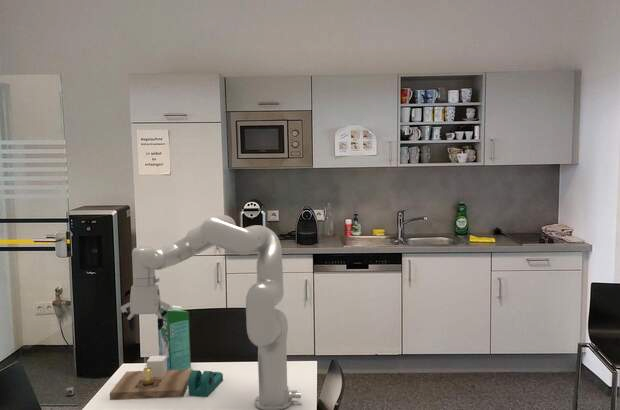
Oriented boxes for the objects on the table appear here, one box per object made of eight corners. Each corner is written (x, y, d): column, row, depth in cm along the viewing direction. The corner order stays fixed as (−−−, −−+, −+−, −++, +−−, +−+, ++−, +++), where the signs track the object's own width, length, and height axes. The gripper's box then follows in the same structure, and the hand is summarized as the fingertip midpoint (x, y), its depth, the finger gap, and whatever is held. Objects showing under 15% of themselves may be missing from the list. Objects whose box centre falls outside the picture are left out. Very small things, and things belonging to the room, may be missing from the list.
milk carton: (191, 367, 217) (188, 306, 216) (170, 373, 211) (167, 310, 210) (179, 362, 224) (177, 302, 222) (159, 368, 218) (157, 306, 216)
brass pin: (152, 392, 194) (151, 370, 193) (143, 392, 194) (142, 370, 193) (154, 388, 197) (153, 367, 196) (145, 389, 197) (144, 367, 196)
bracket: (207, 397, 188) (206, 375, 188) (188, 396, 190) (188, 374, 189) (225, 378, 206) (225, 357, 206) (208, 377, 207) (208, 356, 207)
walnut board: (192, 375, 209) (192, 369, 209) (183, 397, 189) (182, 390, 189) (126, 378, 208) (126, 371, 208) (110, 399, 188) (109, 392, 188)
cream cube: (163, 377, 201) (163, 361, 201) (147, 377, 201) (146, 361, 201) (167, 371, 207) (166, 355, 207) (151, 371, 207) (150, 356, 207)
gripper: (171, 279, 197) (172, 325, 198) (122, 280, 196) (124, 327, 197) (166, 283, 189) (168, 331, 191) (116, 284, 189) (118, 333, 190)
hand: (146, 329), depth 194 cm, fingers open, 9 cm apart
